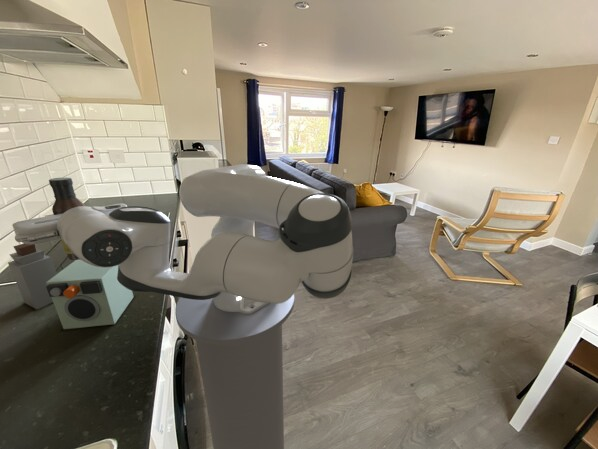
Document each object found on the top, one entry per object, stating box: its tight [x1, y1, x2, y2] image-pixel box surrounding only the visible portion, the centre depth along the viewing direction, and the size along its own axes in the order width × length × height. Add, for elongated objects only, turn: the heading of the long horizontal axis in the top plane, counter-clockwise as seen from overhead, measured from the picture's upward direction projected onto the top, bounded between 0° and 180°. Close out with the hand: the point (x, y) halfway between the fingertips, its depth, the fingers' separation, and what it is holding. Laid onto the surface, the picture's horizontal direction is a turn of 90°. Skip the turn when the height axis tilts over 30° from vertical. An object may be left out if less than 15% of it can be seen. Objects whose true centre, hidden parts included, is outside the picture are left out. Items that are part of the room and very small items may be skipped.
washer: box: [46, 260, 134, 330], centre depth 70 cm, size 14×12×14 cm
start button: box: [63, 285, 80, 298], centre depth 62 cm, size 2×2×2 cm
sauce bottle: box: [48, 177, 85, 261], centre depth 64 cm, size 6×6×20 cm
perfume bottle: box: [7, 243, 58, 310], centre depth 75 cm, size 7×7×18 cm
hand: (70, 214), depth 64 cm, fingers closed on sauce bottle, 6 cm apart
